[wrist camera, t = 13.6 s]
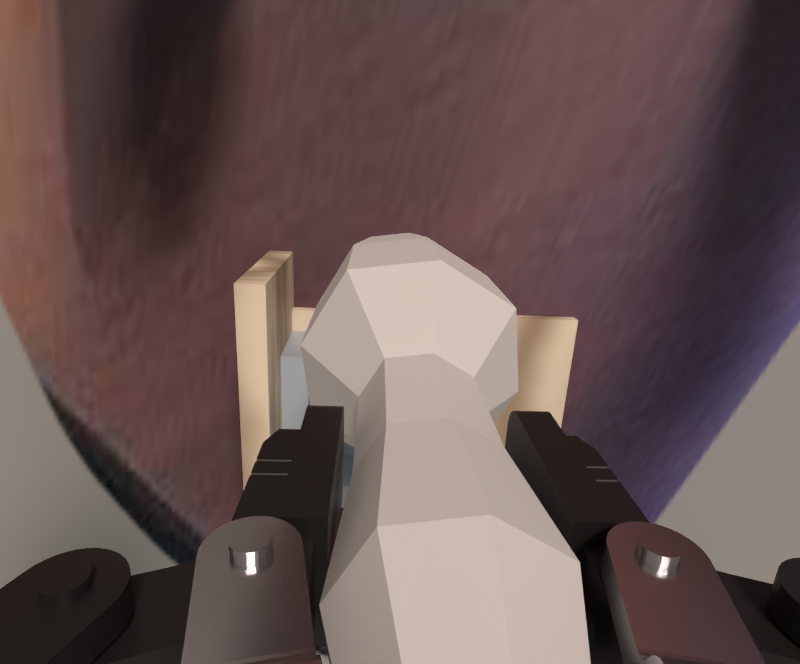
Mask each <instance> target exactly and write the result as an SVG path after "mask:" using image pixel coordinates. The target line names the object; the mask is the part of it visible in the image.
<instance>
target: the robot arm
mask: <svg viewBox="0 0 800 664" xmlns="http://www.w3.org/2000/svg"><path fill="white" fill-rule="evenodd" d="M505 449H506V451H507V452H508V454H509V455H510V457H511V458H512V460H513V461H514V463H515V464H516V466H517V467H518V469H519V470H520V472H521V473H522V475H523V476H524V478H525V480H526V481H527V483H528V484H529V486H530V487H531V489H532V490H533V492H534V493H535V495H536V496H537V498H538V499H539V501H540V502H541V504H542V505H543V507H544V508H545V510H546V511H547V513H548V515H549V516H550V518H551V519H552V521H553V522H554V524H555V525H556V527H557V528H558V530H559V531H560V533H561V534H562V536H563V537H564V539H565V540H566V542H567V543H568V545H569V546H570V548H571V550H572V551H573V553H574V554H575V556H576V557H577V559H578V560H579V562H580V567H581V577H582V586H583V595H584V605H585V614H586V623H587V633H588V642H589V651H590V660H591V664H800V558H792V559H789V560H786V561H784V562H782V563H781V565H780V566H779V568H778V571H777V574H776V577H775V580H774V583H773V584H769V583H765V582H761V581H756V580H753V579H748V578H744V577H740V576H735V575H731V574H727V573H723V572H719V571H716V570H715V568H714V566H713V564H712V563H711V561H710V559H709V558H708V556H707V555H706V554H705V553H704V551H703V550H702V549H701V548H700V547H699V546H697V545H696V544H695V543H694V542H692V541H691V540H690V539H688V538H686V537H685V536H683V535H681V534H680V533H678V532H675V531H673V530H671V529H669V528H666V527H663V526H660V525H656V524H652V523H650V522H649V521H648V520H647V518H646V517H645V516H644V514H643V513H642V512H641V510H640V509H639V507H638V506H637V505H636V503H635V502H634V501H633V499H632V498H631V497H630V495H629V494H628V493H627V491H626V490H625V489H624V487H623V486H622V484H621V483H620V482H617V478H616V476H615V475H614V474H613V472H612V471H611V470H610V469H608V468H607V464H606V463H605V461H604V460H603V459H602V457H601V456H600V455H599V453H598V452H597V451H596V450H595V449H594V448H593V447H591V446H590V445H588V444H587V443H585V442H584V441H582V440H581V439H579V438H578V437H576V436H566V435H565V434H564V432H563V431H562V429H561V428H560V426H559V425H558V423H557V422H556V420H555V419H554V417H553V416H552V414H551V413H550V412H546V411H512V412H511V413H510V416H509V419H508V425H507V433H506V442H505ZM343 459H344V406H319V405H308V406H307V408H306V412H305V415H304V419H303V422H302V426H301V429H279V430H277V431H276V432H275V433H274V434H272V435H271V436H270V437H269V438H268V439H266V440H265V441H264V442H263V444H262V446H261V449H260V451H259V454H258V456H257V461H255V464H254V466H253V469H252V471H251V475H250V476H249V479H248V481H247V484H246V486H245V489H244V491H243V494H242V496H241V499H240V501H239V504H238V506H237V509H236V511H235V514H234V516H233V519H232V521H231V522H229V523H226V524H224V525H223V526H221V527H219V528H217V529H216V530H214V531H213V532H212V533H211V534H210V535H208V536H207V537H206V538H205V540H204V541H203V542H202V544H201V546H200V547H199V549H198V553H197V558H195V559H193V560H191V561H188V562H185V563H183V564H180V565H176V566H173V567H169V568H164V569H160V570H155V571H151V572H146V573H142V574H137V575H133V576H131V573H130V567H129V564H128V562H127V560H126V559H125V558H124V557H123V556H121V554H119V553H117V552H114V551H112V550H108V549H101V548H86V549H78V550H74V551H69V552H65V553H62V554H59V555H56V556H53V557H51V558H49V559H46V560H44V561H42V562H40V563H38V564H36V565H34V566H33V567H31V568H30V569H28V570H27V571H25V572H24V573H22V574H21V575H19V576H18V577H17V578H15V579H14V580H12V581H11V582H9V583H8V584H7V585H5V586H4V587H3V588H1V589H0V664H322V661H321V657H320V655H316V650H315V646H327V645H326V640H325V634H324V629H323V623H322V618H321V612H320V607H319V604H320V600H321V596H322V592H323V588H324V584H325V580H326V576H327V572H328V568H329V564H330V560H331V556H332V552H333V548H334V544H335V540H336V536H337V532H338V528H339V524H340V517H341V507H342V493H343Z"/></svg>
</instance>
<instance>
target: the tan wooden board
mask: <svg viewBox="0 0 800 664" xmlns="http://www.w3.org/2000/svg"><path fill="white" fill-rule="evenodd" d="M234 299H235V320H236V341H237V362H238V383H239V405H240V426H241V447H242V468H243V489H245V486H246V484H247V481H248V479H249V476H250V475H251V471H252V469H253V466H254V464H255V461H257V456H258V454H259V451H260V449H261V446H262V444H263V442H264V441H265V440H266V439H268V438H269V437H270V436H271V435H272V434H274V433H275V432H276V431H277V430H279V429H282V402H281V354H282V352H283V350H284V348H285V346H286V344H287V341H288V339H289V337H290V335H291V333H292V331H303V332H306V330H307V328H308V325H309V323H310V321H311V318H312V316H313V313H314V311H315V308H299V307H294V280H293V252H291V251H269V252H268V253H267V254H266V255H264V256H263V257H262V258H261V259H260V260H259V261H258V262H257V263H256V264H255V265H253V266H252V267H251V268H250V269H249V270H248V271H247V272H246V273H245V274H244V275H242V276H241V277H240V278H239V279H238V280H237V281H236V282H235V283H234ZM516 318H517V354H518V393H517V394H516V395H515V396H514V398H513V399H512V400H511V402H510V403H509V404H508V406H507V407H506V408H505V410H504V411H503V412H502V414H501V415H500V416H499V417H498V419H497V420H496V421H495V423H494V425H495V427H496V429H497V431H498V434H499V436H500V438H501V441H502V443H503V445H504V448H505V442H506V433H507V425H508V419H509V416H510V413H511V412H512V411H546V412H550V413H551V414H552V416H553V417H554V419H555V420H556V422H557V423H558V425H559V426H560V428H561V424H562V418H563V412H564V406H565V399H566V393H567V387H568V381H569V374H570V368H571V362H572V356H573V349H574V343H575V337H576V331H577V324H578V320H577V319H576V318H574V317H552V316H524V315H516Z"/></svg>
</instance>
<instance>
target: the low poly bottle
mask: <svg viewBox="0 0 800 664" xmlns="http://www.w3.org/2000/svg"><path fill="white" fill-rule="evenodd" d="M300 346H301V352H302V358H303V364H304V370H305V376H306V383H307V389H308V395H309V401H310V405H319V406H344V442H345V443H347V444H349V445H351V446H352V447H354V459H353V472H352V476H351V480H350V484H349V488H348V492H347V496H346V500H345V504H344V508H343V512H342V516H341V520H340V524H339V528H338V532H337V536H336V540H335V544H334V548H333V552H332V556H331V560H330V564H329V568H328V572H327V576H326V580H325V584H324V588H323V592H322V596H321V600H320V604H319V607H320V612H321V618H322V623H323V629H324V634H325V640H326V645H327V651H328V656H329V662H330V664H591V660H590V651H589V642H588V633H587V623H586V614H585V605H584V595H583V586H582V577H581V567H580V562H579V560H578V559H577V557H576V556H575V554H574V553H573V551H572V550H571V548H570V546H569V545H568V543H567V542H566V540H565V539H564V537H563V536H562V534H561V533H560V531H559V530H558V528H557V527H556V525H555V524H554V522H553V521H552V519H551V518H550V516H549V515H548V513H547V511H546V510H545V508H544V507H543V505H542V504H541V502H540V501H539V499H538V498H537V496H536V495H535V493H534V492H533V490H532V489H531V487H530V486H529V484H528V483H527V481H526V480H525V478H524V476H523V475H522V473H521V472H520V470H519V469H518V467H517V466H516V464H515V463H514V461H513V460H512V458H511V457H510V455H509V454H508V452H507V451H506V449H505V448H504V445H503V443H502V441H501V438H500V436H499V434H498V431H497V429H496V427H495V425H494V423H495V421H496V420H497V419H498V417H499V416H500V415H501V414H502V412H503V411H504V410H505V408H506V407H507V406H508V404H509V403H510V402H511V400H512V399H513V398H514V396H515V395H516V394H517V393H518V354H517V318H516V308H515V306H514V305H513V304H512V303H511V302H510V301H509V300H508V299H507V298H506V296H505V295H504V294H503V293H502V292H501V291H500V290H499V289H498V288H497V286H496V285H495V284H494V283H493V282H492V281H491V280H490V279H489V278H488V277H487V276H486V275H485V274H483V273H482V272H480V271H479V270H477V269H476V268H474V267H472V266H471V265H469V264H468V263H466V262H465V261H463V260H462V259H460V258H459V257H457V256H455V255H454V254H452V253H451V252H449V251H448V250H446V249H445V248H443V247H442V246H440V245H438V244H437V243H435V242H434V241H432V240H431V239H429V238H428V237H424V236H420V235H416V234H412V233H404V234H394V235H384V236H374V237H369V238H367V239H365V240H363V241H361V242H359V243H357V244H354V245H353V247H352V249H351V250H350V252H349V253H348V255H347V257H346V258H345V260H344V262H343V263H342V265H341V267H340V268H339V270H338V271H337V273H336V275H335V276H334V278H333V280H332V281H331V283H330V284H329V286H328V288H327V289H326V291H325V293H324V294H323V296H322V297H321V299H320V301H319V302H318V304H317V306H316V308H315V311H314V313H313V316H312V318H311V321H310V323H309V325H308V328H307V330H306V333H305V335H304V338H303V340H302V342H301V345H300Z"/></svg>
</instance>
